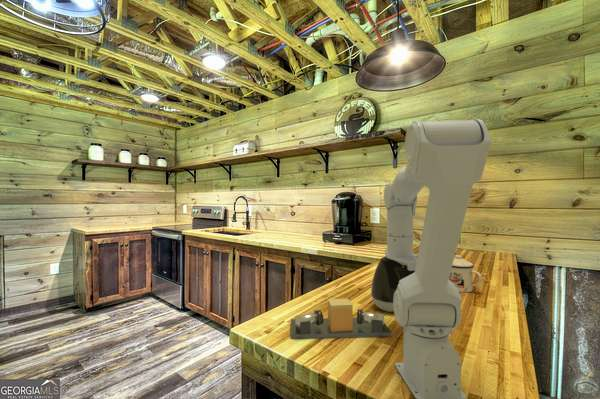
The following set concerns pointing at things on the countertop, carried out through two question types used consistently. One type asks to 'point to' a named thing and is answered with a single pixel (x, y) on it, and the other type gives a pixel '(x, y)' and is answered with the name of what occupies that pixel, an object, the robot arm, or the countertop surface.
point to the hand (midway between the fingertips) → (400, 293)
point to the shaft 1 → (308, 321)
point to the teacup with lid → (463, 274)
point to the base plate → (325, 331)
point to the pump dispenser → (382, 289)
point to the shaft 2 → (371, 320)
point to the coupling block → (340, 315)
